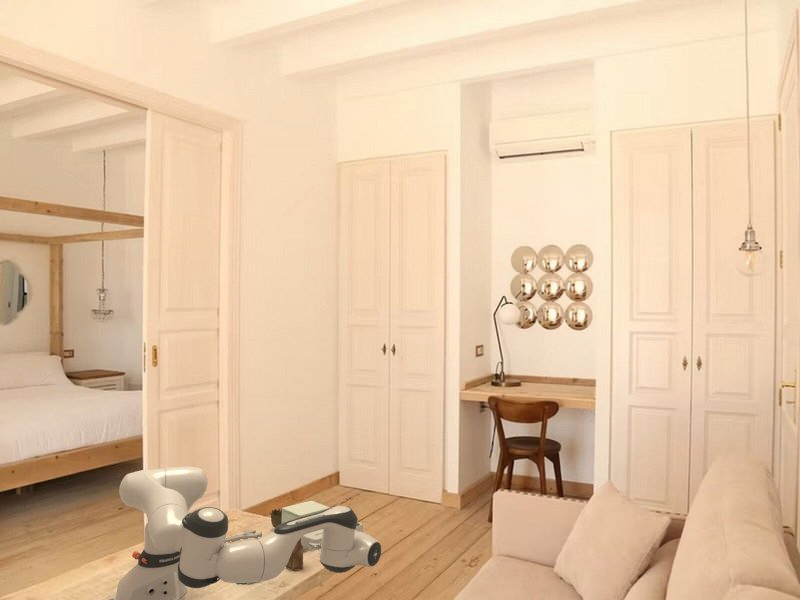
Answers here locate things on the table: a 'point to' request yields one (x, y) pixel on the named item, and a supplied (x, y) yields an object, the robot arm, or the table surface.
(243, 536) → the adjustable wrench
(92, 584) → the table surface
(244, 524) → the table surface
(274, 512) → the brown hollow round piece
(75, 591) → the table surface
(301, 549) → the brown wooden tall block
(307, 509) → the cabinet
